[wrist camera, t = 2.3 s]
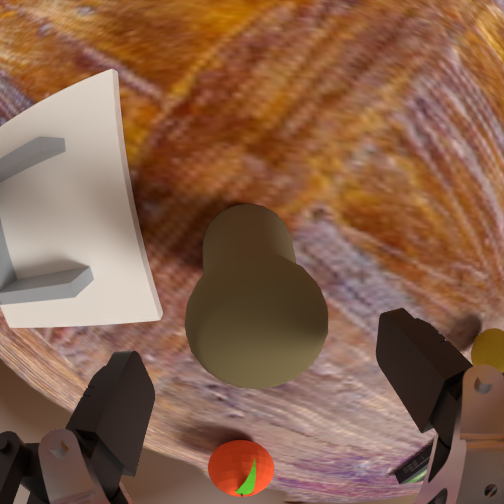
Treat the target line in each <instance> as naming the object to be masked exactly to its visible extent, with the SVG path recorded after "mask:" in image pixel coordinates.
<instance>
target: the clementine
mask: <svg viewBox="0 0 504 504" xmlns="http://www.w3.org/2000/svg"><path fill="white" fill-rule="evenodd" d="M208 472H209V476H210V478H211V480H212V482H213V483H214V484H215V485H216V487H218V488H219V489H220V490H221V491H223V492H225V493H227V494H229V495H232V496H241V497H244V496H251V495H254V494H256V493H258V492H260V491H261V490H263V489H264V488H266V486H267V485H268V484H269V483H270V481H271V479H272V477H273V475H274V463H273V460H272V457H271V456H270V454H269V453H268V452H267V451H266V449H264V448H263V447H262V446H260V445H259V444H257V443H254V442H251V441H247V440H234V441H230V442H227V443H224V444H223V445H221V446H220V447H218V448H217V449H216V450H215V451H214V452H213V454H212V455H211V457H210V460H209V464H208Z"/></svg>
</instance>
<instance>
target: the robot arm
mask: <svg viewBox="0 0 504 504" xmlns="http://www.w3.org/2000/svg"><path fill="white" fill-rule="evenodd" d="M376 357H377V362H378V365H379V367H380V368H381V370H382V371H383V373H384V374H385V376H386V377H387V379H388V381H389V382H390V384H391V385H392V387H393V388H394V390H395V391H396V393H397V395H398V396H399V398H400V399H401V401H402V403H403V404H404V406H405V407H406V409H407V411H408V412H409V414H410V415H411V417H412V419H413V420H414V422H415V424H416V425H417V427H418V429H419V430H420V432H421V433H424V432H426V431H428V430H430V429H432V428H434V429H435V430H436V432H437V434H436V436H435V438H434V443H433V447H432V452H431V456H430V460H429V464H428V468H427V472H426V475H425V479H424V482H423V485H422V488H421V490H420V492H419V494H418V496H417V498H416V499H415V501H414V503H413V504H504V372H503V373H501V372H500V371H499V370H498V369H496V368H495V367H492V366H490V365H484V364H483V365H476V366H473V365H472V364H471V363H470V362H469V361H468V360H467V359H466V358H465V357H464V356H463V355H462V354H461V353H460V352H459V351H458V350H457V349H456V348H455V347H454V346H453V345H452V344H451V343H450V342H449V341H446V338H445V337H444V336H443V335H442V334H439V332H438V331H437V330H436V329H435V328H434V327H433V326H432V325H431V324H429V323H427V322H425V321H423V320H421V319H419V318H416V319H414V318H413V317H412V316H411V315H410V314H409V313H408V312H407V311H406V310H405V309H404V308H399V309H395V310H392V311H388V312H384V313H382V314H381V315H380V318H379V327H378V337H377V346H376ZM154 401H155V390H154V386H153V384H152V381H151V379H150V377H149V375H148V373H147V371H146V368H145V366H144V364H143V362H142V359H141V357H140V355H139V354H138V352H136V351H122V352H114V353H113V355H112V356H111V358H110V360H109V362H108V364H107V365H106V366H103V367H102V368H101V369H100V370H99V371H98V372H97V373H96V374H95V375H94V376H93V378H92V379H91V381H90V383H89V385H88V388H86V390H85V392H84V394H83V397H81V399H80V401H79V403H78V405H77V407H76V409H75V411H74V412H73V414H72V416H71V418H70V420H69V422H68V424H67V426H66V428H65V429H55V430H53V431H50V432H49V433H47V434H46V435H45V436H44V437H43V438H42V440H41V442H40V443H27V444H26V443H24V442H23V441H22V440H21V439H20V438H19V437H18V436H17V434H16V433H14V432H11V431H6V432H3V433H1V434H0V504H13V502H14V499H15V496H16V493H17V491H18V488H19V485H20V484H21V485H22V486H23V487H25V488H26V489H27V490H28V491H30V495H29V498H28V502H27V504H133V503H132V501H131V500H130V497H129V496H128V494H127V492H126V490H125V488H124V487H123V485H122V484H121V483H120V478H121V475H128V476H135V474H136V470H137V466H138V462H139V458H140V454H141V450H142V446H143V442H144V438H145V434H146V430H147V427H148V423H149V419H150V416H151V412H152V409H153V405H154Z"/></svg>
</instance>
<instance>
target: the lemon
mask: <svg viewBox="0 0 504 504" xmlns="http://www.w3.org/2000/svg"><path fill="white" fill-rule="evenodd" d="M471 360H472V363H473V366H476V365H483V364H484V365H490V366H492V367H495V368H496V369H498V370H499V371H500V372H501V373H503V372H504V331H502V330H500V329H496V328H493V329H488V330H485V331H484V332H482V333H481V334H480V335H477V336H476V337H475V338H474V344H473V346H472V350H471Z"/></svg>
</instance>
